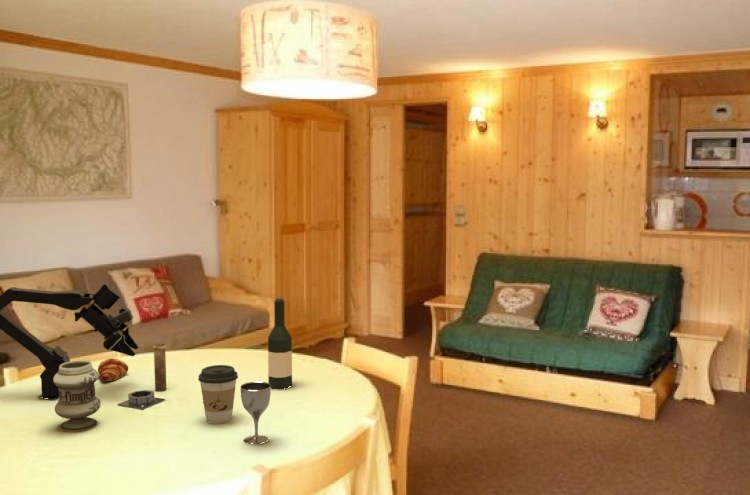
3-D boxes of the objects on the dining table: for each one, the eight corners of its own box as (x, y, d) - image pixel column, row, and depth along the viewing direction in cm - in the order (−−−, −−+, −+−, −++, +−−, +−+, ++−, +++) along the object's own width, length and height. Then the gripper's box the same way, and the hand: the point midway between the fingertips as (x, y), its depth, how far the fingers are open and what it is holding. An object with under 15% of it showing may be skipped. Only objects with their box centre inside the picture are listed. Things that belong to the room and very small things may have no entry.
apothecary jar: (56, 421, 207) (54, 360, 205) (101, 416, 211) (99, 356, 209) (54, 435, 195) (51, 371, 194) (101, 430, 200) (98, 367, 198)
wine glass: (257, 432, 198) (257, 379, 197) (277, 439, 193) (276, 385, 192) (235, 440, 192) (234, 386, 190) (255, 448, 187) (254, 392, 185)
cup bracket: (142, 409, 217) (142, 400, 216) (117, 405, 221) (117, 396, 220) (165, 400, 226) (164, 391, 225) (140, 396, 230) (140, 387, 229)
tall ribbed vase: (154, 391, 234) (152, 347, 233) (155, 388, 238) (153, 344, 236) (166, 391, 235) (165, 346, 233) (167, 387, 239) (166, 343, 237)
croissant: (112, 377, 263) (101, 358, 262) (137, 363, 264) (126, 345, 263) (97, 393, 242) (85, 373, 241) (124, 379, 243) (112, 359, 242)
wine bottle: (288, 390, 236) (287, 301, 233) (264, 389, 237) (263, 300, 234) (295, 383, 244) (295, 296, 241) (272, 382, 246) (271, 295, 242)
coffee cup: (199, 427, 202) (198, 376, 200) (198, 414, 212) (197, 365, 211) (240, 424, 205) (239, 373, 203) (237, 411, 216) (236, 362, 214)
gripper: (112, 307, 221) (151, 340, 225) (120, 296, 240) (155, 327, 243) (86, 333, 221) (125, 366, 224) (96, 321, 239) (132, 351, 242)
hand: (135, 351), depth 233 cm, fingers open, 9 cm apart
